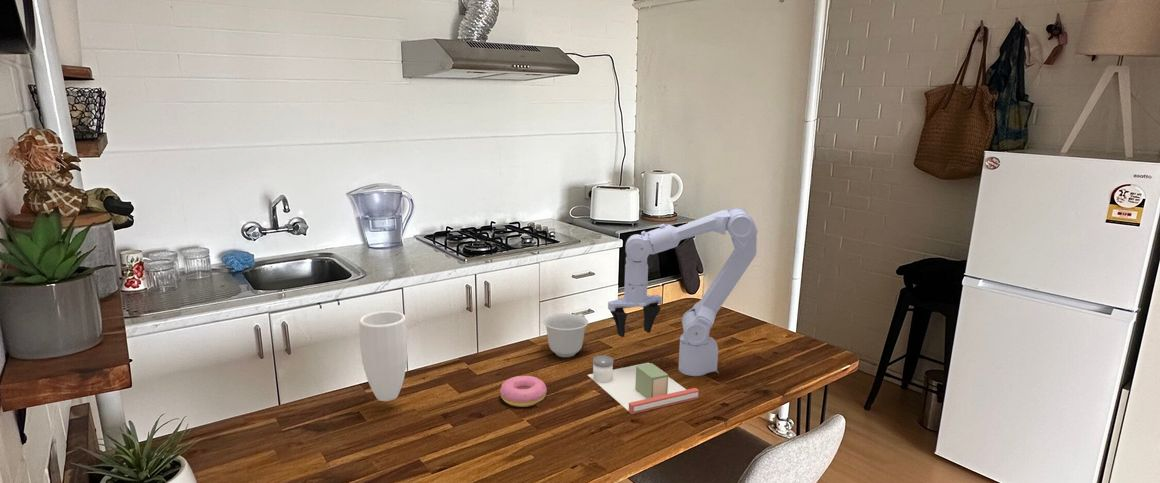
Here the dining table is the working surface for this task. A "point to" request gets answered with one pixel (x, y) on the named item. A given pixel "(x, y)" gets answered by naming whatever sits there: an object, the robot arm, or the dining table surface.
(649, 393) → the carton
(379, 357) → the white vase
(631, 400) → the shelf board
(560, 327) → the teacup
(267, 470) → the dining table surface
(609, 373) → the spice jar
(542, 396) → the doughnut
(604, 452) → the dining table surface
